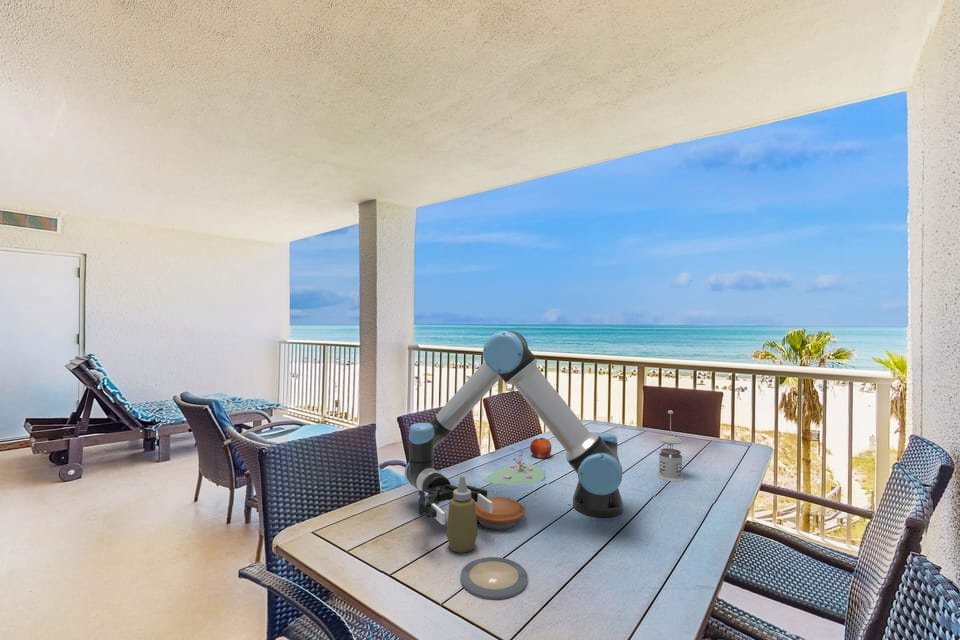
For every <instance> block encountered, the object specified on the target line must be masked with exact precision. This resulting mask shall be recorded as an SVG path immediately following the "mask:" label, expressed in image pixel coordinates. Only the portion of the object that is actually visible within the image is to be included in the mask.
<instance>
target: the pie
mask: <svg viewBox="0 0 960 640" xmlns="http://www.w3.org/2000/svg"><path fill="white" fill-rule="evenodd" d="M487 498H488V499H489V500H490V501H491V502H492V513H489V512H487V511H486V510H485V509H483V508H482V507H481V506H479V505H478V502H475V510H476V520H478V522H479V523H480V525H482V527H485V528H488V529H491V530H497V531H499V530H501V531H502V530H508V529H512V528H514V527H516V525H518V523H519V522H520V520H521V518H523V517H524V515H525V513H526V507H524V505H523V504H521V502H519V501H517V500H515V499H512V498H509V497H503V496H502V497H501V496H492V497H491V496H490V497H487Z"/></svg>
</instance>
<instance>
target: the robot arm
mask: <svg viewBox="0 0 960 640" xmlns="http://www.w3.org/2000/svg"><path fill="white" fill-rule="evenodd" d="M482 350H483V352H482V355H483V357H482V358H483V361H484V362H483V363H482V364H481V365H480V366H479V367H478V368H477V369H476V370H475V372H473V374H472V375H471V376H470V377H469V378H468V379H467V380H466V381H465V383H464V384H463V385H462V386H461V387H459V389H458V390H457V391H456V392H455V394H454V395H453V396H452V397H451V398H450V399H449V400H448V401H447V402H446V403H445V404H444V405H443V407H442V408H441V409H440V410H439V412H437V413H436V414H435V415H434V416H433V418H432V419H431V420H430V421H429V422H417V423H413V424H412V425H410V427H409V433H408V440H409V441H408V442H409V443H408V444H409V445H408V447H409V448H408V449H409V451H408V452H409V453H408V455H409V456H408V457H409V459H408V463H407V464H406V466H405V468H404V476H405V478H406V480H407V481H408V483H409V484H410V485H412V487H414V488H416V489H417V490H418V511H417V512H418V513H417V514H418V515H419V516H422V515H424V514H425V517H426V518H434V519H435V520H436V521H438V523H440V525H442V526H443V525H446V513H445V511H444V510H442V509H441V507H439V506H438V505H439V504H440V503H442V502H445V501H450V500H451V499H452V498H453V491H454V490H455V489H458V486H456V485H453V484H451V482H450V480H449V479H448V477H446V476H444V475H443V474H442V473H440V472H439V471H438V470H436V469H434V468H435V467H434V452H435V451H434V449H435V448H437V447H438V446H439V445H440V444H441V443H443V442H444V441H445V440H446V439H447V438H448V436H449V435H450V434H451V433H452V431H453V430H454V429H455V428H456V427H457V426H458V424H459V425H460V423H461V422H462V420H464V418H465V417H466V416H467V415H468V414H469V413H470V412H471V411H472V410H473V409H474V407H476V406H477V404H479V402H480V401H481V400H482V399H483V398H484V397H485V396H486V394H487V393H488V392H489V391H490V390H491V389H492V388H494V386H495V384H497V382H498V381H500V379H502V380H503V381H504V383H505V384H506V385H512V386H514V387H515V389H516V390H517V392H518V393H520V396H522V397H523V399H524V401H526V402H527V404H528V405H529V406H530V407H531V409H532V410H533V411H534V412H535V414H536V415H537V416H538V418H539V419H540V420H541V421H542V423H543V424H544V426H546V427H547V429H548V430H549V431H550V432H551V434H552V435H553V437H554V438H555V440H557V442H558V443H559V444H560V445H561V446H562V447H563V450H565V452H566V456H565V460H566V461H567V462H568V464H569V466H571V468H572V469H573V470H574V471H575V473H576V474H577V477H578V481H577V485H576V487H575V490H574V493H573V496H572V506H573V508H574V510H575V511H577V512H579V513H582V514H583V515H587V516H590V517H596V518H612V517H617V516H619V515H621V514H622V513H623V512H624V502H623V499H622V495H621V492H620V489H619V487H620V485H621V484H622V480H623V475H624V474H623V473H624V472H623V466H622V464H621V462H620V459H619V455H618V445H619V443H618V437H617V436H616V435H615V434H612V433H606V432H594V431H589V430H588V428H587V427H586V426H585V425H584V423H583V422H582V421H581V419H579V417H578V416H577V415H576V414H575V413H574V411H573V410H572V408H570V406H569V405H568V404H567V402H566V401H565V400H564V399H563V397H562V396H561V395H560V394H559V392H557V390H556V389H555V387H554V386H553V385H552V384H551V383H550V382H549V381H548V379H547V378H546V376H545V375H544V374H543V373H542V372H541V371H540V369H539V368H538V366H537V362H538V361H537V360H538V359H537V357H536V356H535V355H534V353H533V352H532V351H531V350H530V348H529V345H528V342H527V340H526V338H525V337H524V336H523V335H522V334H521V333H519V332H517V331H514V330H501V331H497V332H494V333H493V334H492V335H491V336H489V337H488V339H487V340H486V341H485V343H484V345H483V349H482ZM466 486H467V489H470V490H471V498H472V499H473V500H474V501H475V503H477V502H478V505H479V506H481V507H482V508H483V509H485V510H486V511H487V512H489V513H492V502H491V501H490V500H489V499H488V498H489V497H488V490H487V489H483V488H479V487H475V486H472V485H467V484H466ZM427 499H428V501H427ZM426 501H427V502H426Z"/></svg>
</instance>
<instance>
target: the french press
mask: <svg viewBox="0 0 960 640" xmlns="http://www.w3.org/2000/svg"><path fill="white" fill-rule="evenodd" d="M667 414H669V415H670V416H669V422H670V423H669V430H670V432H669V434H670V435H664V436H661V437H659V438H658V440H659V441H660V442H661V443H664V444H667V446H669V447H666V448H665V447H664V448H661V449H660V452H659V454H658V460H659V462H658V463H659V464H658V467H659V469H658V472H657V473H656V477H657V478H658V479H661V480H663V481H667V482H668V481H669V482H683V481H685V479H686V478H685V477H684V476H683V456H682V455H681V454H682V451H681V450H679V449H676V448H673V447H674V445H681V444H683V440H682V439H680V438H679V437H676V436H674V435H672V414H674V411H673V410H671V409H670V410H669V409H668V411H667ZM670 455H671V456H670Z"/></svg>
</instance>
